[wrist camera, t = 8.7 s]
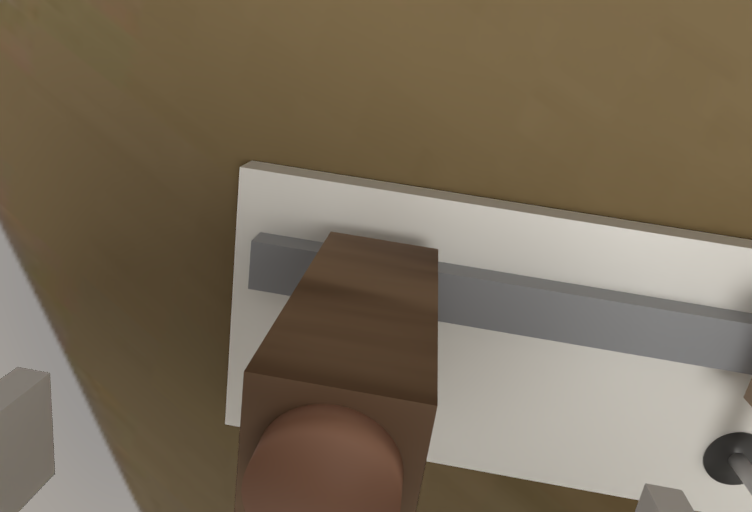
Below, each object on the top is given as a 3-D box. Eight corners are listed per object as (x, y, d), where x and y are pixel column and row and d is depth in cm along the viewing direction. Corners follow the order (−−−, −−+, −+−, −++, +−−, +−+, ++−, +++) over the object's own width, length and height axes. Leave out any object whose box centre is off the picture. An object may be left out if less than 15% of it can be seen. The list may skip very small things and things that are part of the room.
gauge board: (785, 505, 26) (863, 605, 22) (235, 405, 28) (193, 478, 23) (902, 263, 22) (1029, 320, 18) (251, 160, 24) (203, 186, 19)
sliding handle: (406, 413, 25) (377, 721, 13) (315, 397, 25) (210, 686, 14) (438, 239, 22) (437, 436, 11) (336, 222, 22) (226, 398, 11)
